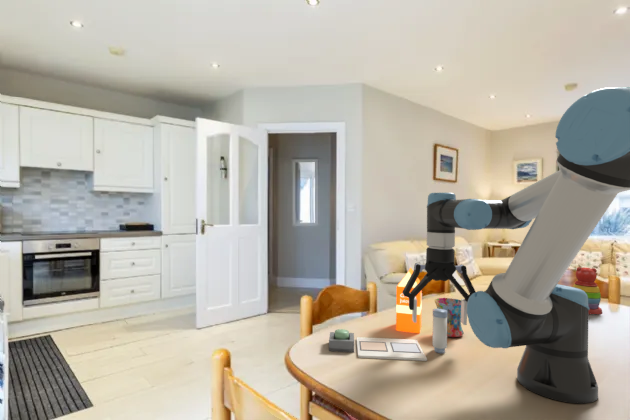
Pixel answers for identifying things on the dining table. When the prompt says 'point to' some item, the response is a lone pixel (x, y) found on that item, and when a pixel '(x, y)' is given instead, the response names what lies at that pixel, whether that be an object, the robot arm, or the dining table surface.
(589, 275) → the stacking bear
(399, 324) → the orange juice
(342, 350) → the button housing
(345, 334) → the button
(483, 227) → the robot arm
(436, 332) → the cylinder
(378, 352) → the sheet
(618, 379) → the dining table surface
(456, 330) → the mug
